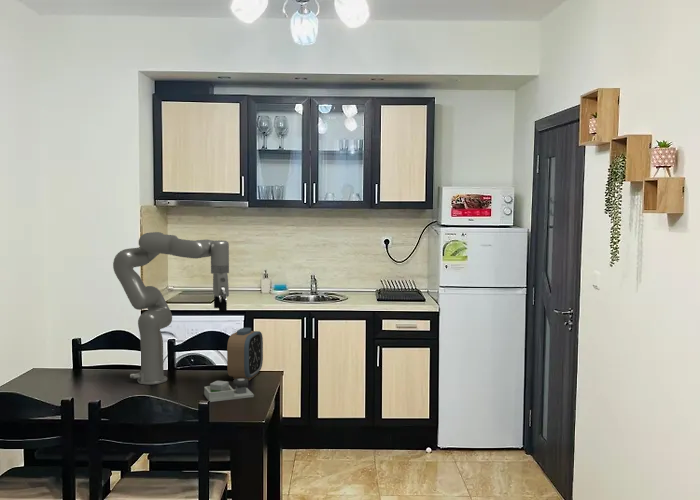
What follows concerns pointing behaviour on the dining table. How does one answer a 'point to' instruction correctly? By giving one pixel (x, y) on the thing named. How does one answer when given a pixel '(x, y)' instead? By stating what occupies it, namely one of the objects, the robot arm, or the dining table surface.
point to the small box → (219, 386)
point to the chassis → (227, 394)
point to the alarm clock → (245, 353)
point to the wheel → (240, 382)
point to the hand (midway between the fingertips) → (220, 309)
